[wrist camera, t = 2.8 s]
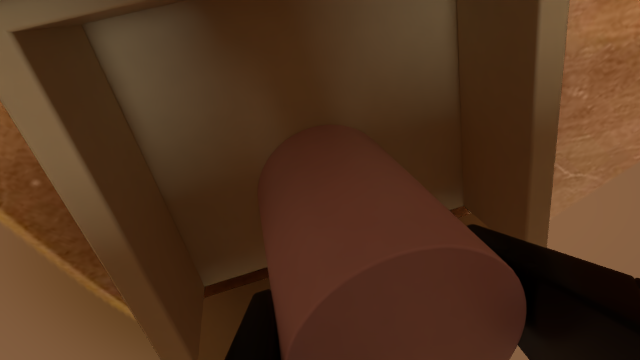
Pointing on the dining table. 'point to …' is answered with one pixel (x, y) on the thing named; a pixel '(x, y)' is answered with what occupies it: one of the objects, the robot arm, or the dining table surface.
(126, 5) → the drawer
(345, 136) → the red cylinder
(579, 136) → the dining table surface
